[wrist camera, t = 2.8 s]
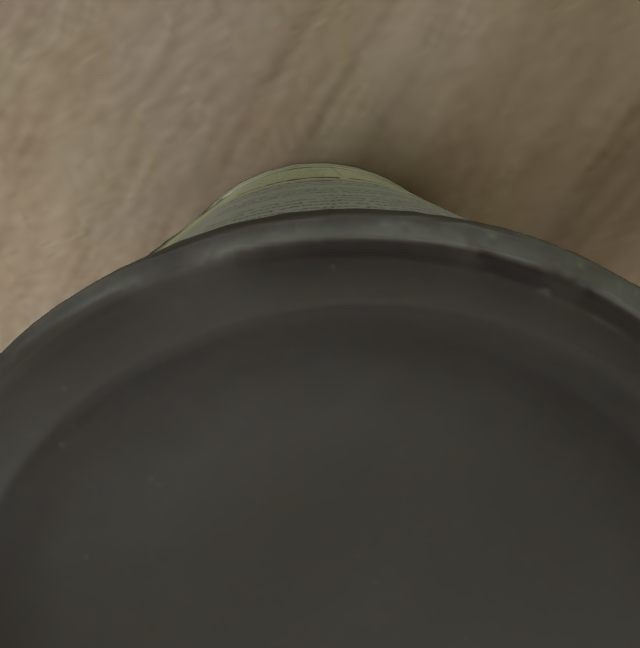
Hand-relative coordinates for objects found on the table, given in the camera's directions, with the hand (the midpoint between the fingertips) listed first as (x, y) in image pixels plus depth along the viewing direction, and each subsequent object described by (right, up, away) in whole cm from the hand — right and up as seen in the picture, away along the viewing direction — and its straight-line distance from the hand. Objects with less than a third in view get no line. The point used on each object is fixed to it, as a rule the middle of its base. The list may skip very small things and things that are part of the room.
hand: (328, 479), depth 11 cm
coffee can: (0, +3, +9) cm, 10 cm away
